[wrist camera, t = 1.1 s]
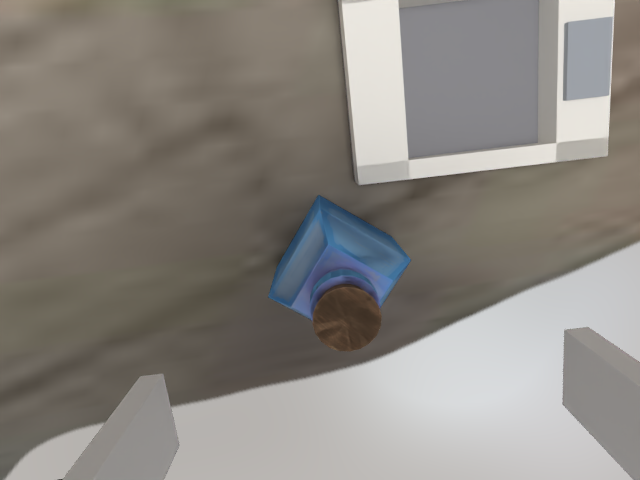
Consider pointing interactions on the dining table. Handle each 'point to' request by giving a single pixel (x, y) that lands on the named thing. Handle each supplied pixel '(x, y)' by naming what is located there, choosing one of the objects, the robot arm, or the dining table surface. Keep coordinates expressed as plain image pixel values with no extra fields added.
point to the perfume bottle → (338, 275)
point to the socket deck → (474, 84)
